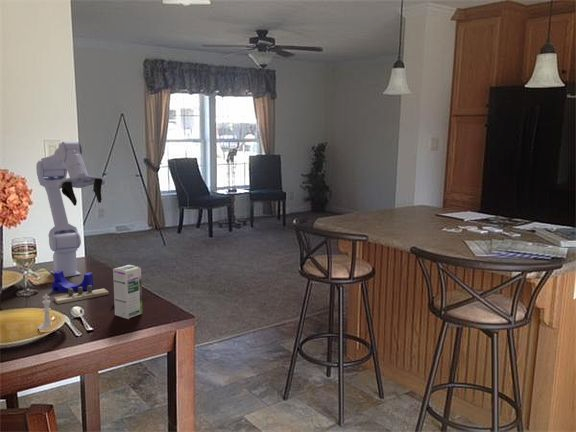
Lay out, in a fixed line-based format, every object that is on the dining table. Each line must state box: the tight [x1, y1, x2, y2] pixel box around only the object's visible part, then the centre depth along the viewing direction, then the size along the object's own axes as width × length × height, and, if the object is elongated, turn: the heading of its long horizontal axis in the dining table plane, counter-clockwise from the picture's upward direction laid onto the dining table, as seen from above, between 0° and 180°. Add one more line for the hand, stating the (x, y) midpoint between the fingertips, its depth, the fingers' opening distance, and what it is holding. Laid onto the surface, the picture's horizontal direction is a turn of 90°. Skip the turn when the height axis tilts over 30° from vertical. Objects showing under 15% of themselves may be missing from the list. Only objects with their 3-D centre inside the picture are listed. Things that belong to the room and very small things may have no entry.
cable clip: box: [51, 271, 94, 293], centre depth 173 cm, size 12×4×6 cm, turn 84°
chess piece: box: [37, 293, 53, 330], centre depth 140 cm, size 5×5×10 cm
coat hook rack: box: [53, 285, 110, 305], centre depth 167 cm, size 4×16×3 cm, turn 130°
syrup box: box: [112, 264, 143, 320], centre depth 152 cm, size 6×6×14 cm
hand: (87, 202), depth 165 cm, fingers open, 7 cm apart
